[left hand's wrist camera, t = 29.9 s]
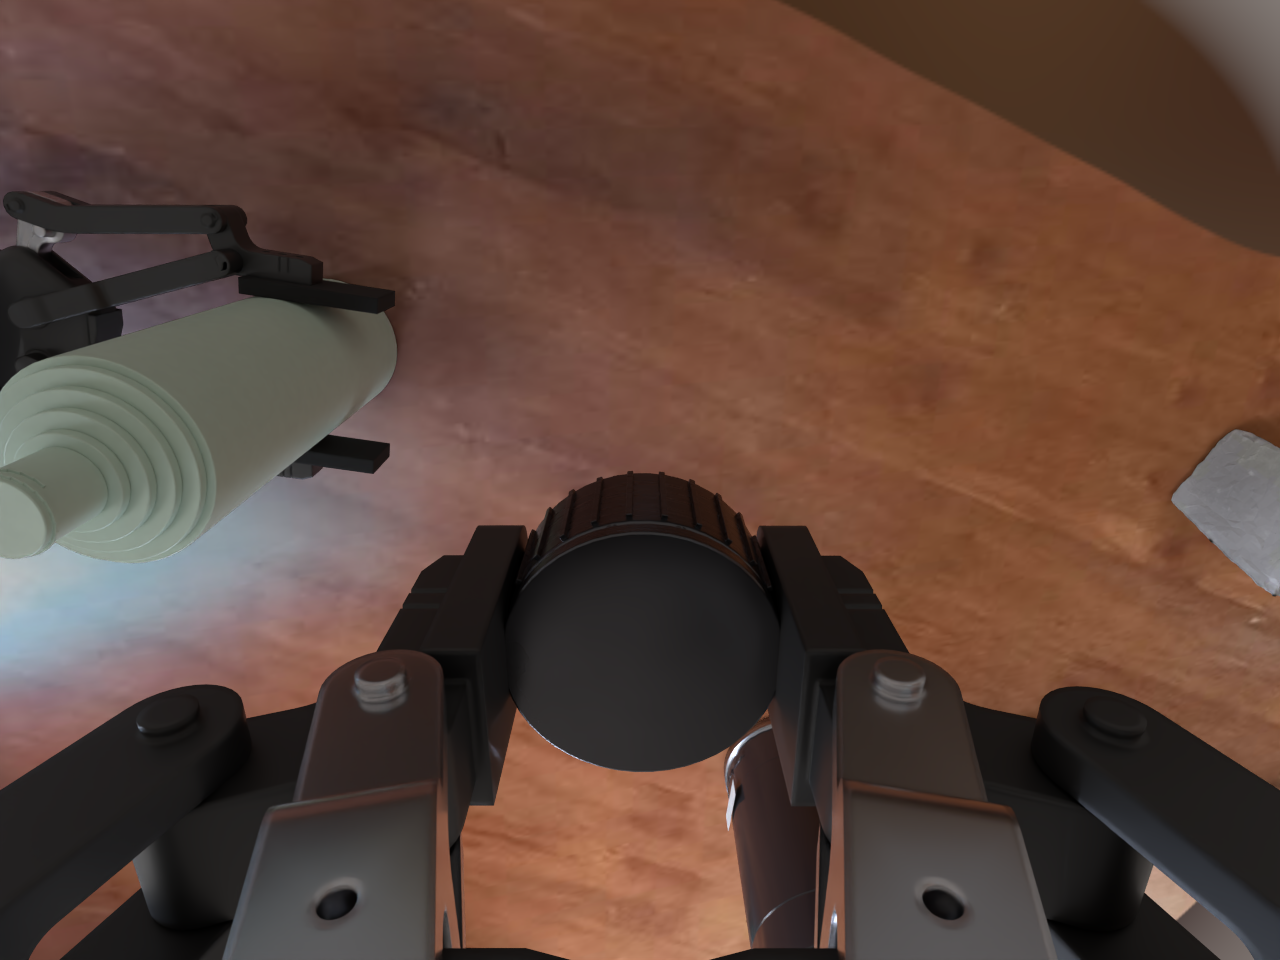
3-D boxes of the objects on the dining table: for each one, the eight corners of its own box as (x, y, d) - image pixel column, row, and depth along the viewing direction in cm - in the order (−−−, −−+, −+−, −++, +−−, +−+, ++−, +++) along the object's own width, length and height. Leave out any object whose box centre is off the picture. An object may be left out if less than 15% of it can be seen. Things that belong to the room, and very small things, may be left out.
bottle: (423, 345, 44) (186, 522, 21) (344, 431, 46) (51, 675, 23) (319, 249, 42) (-62, 333, 20) (242, 343, 44) (-186, 516, 21)
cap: (722, 433, 11) (741, 488, 9) (791, 646, 12) (820, 734, 10) (481, 512, 12) (448, 581, 10) (572, 709, 13) (559, 806, 11)
